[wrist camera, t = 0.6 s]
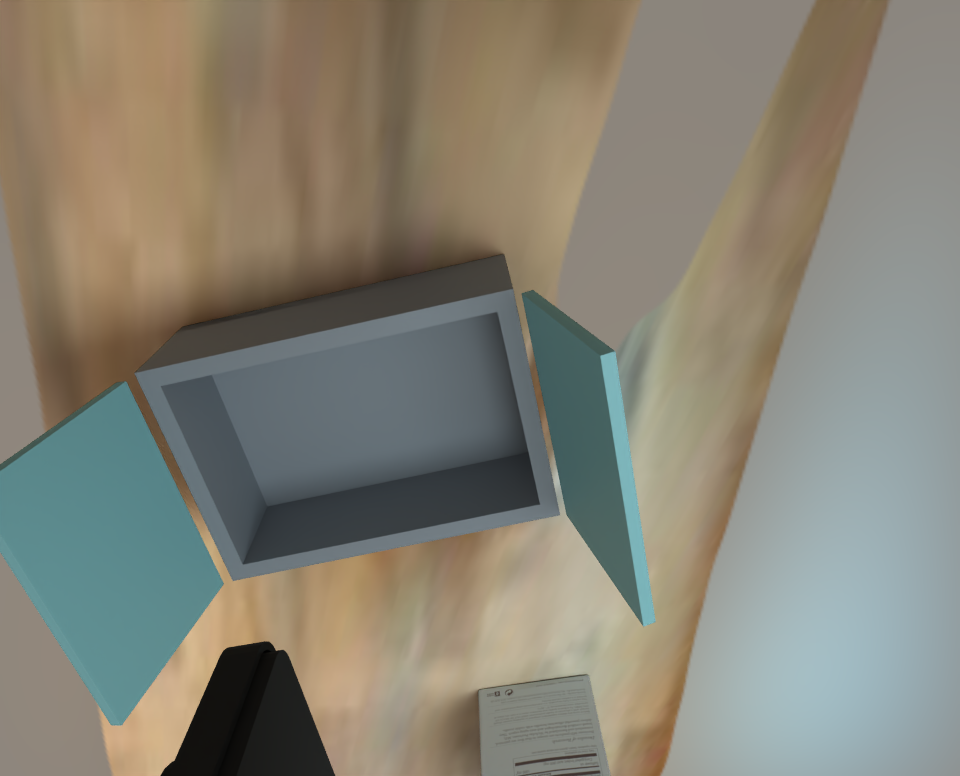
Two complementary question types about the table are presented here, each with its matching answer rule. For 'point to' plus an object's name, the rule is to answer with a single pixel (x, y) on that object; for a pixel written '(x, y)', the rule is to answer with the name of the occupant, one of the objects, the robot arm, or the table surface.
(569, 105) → the table surface
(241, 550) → the box
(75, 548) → the flap
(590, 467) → the flap
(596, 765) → the supplement box
